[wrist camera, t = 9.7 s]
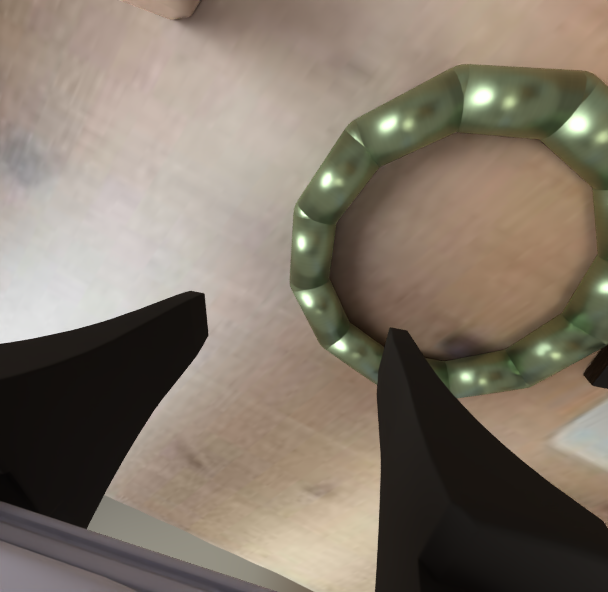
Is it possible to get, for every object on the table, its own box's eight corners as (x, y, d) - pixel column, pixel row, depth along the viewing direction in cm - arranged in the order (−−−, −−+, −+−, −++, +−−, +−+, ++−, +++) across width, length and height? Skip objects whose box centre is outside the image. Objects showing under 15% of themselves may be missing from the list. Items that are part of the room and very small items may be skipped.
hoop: (540, 401, 21) (559, 431, 19) (289, 350, 23) (280, 372, 21) (754, 86, 12) (834, 77, 10) (309, 60, 14) (297, 49, 12)
